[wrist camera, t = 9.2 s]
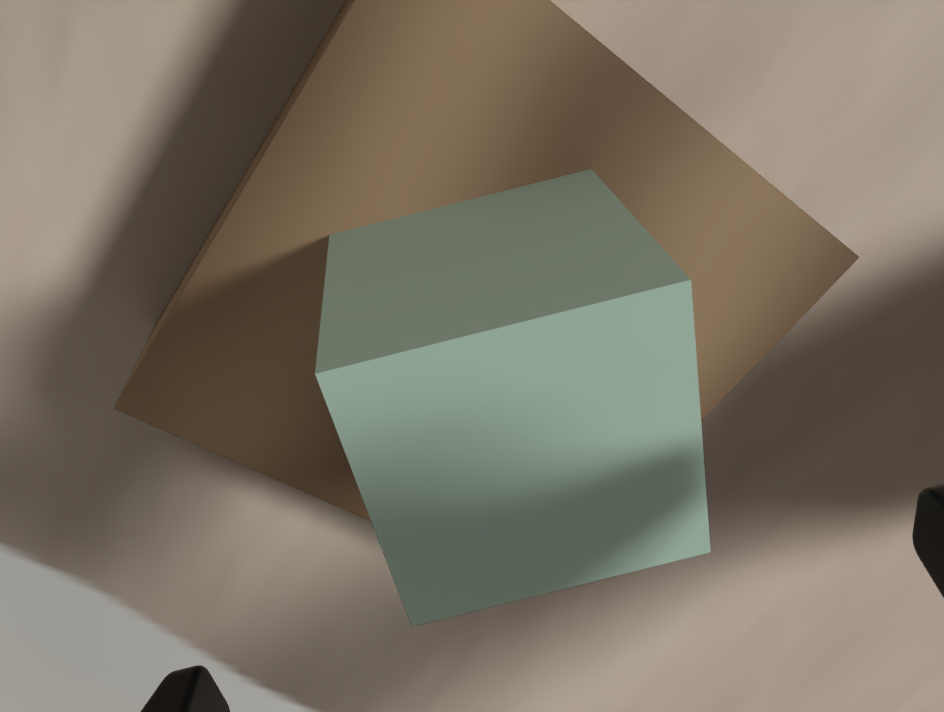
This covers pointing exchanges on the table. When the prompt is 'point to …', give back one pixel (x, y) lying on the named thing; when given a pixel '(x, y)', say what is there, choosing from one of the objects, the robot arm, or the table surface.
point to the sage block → (515, 394)
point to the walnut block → (443, 183)
